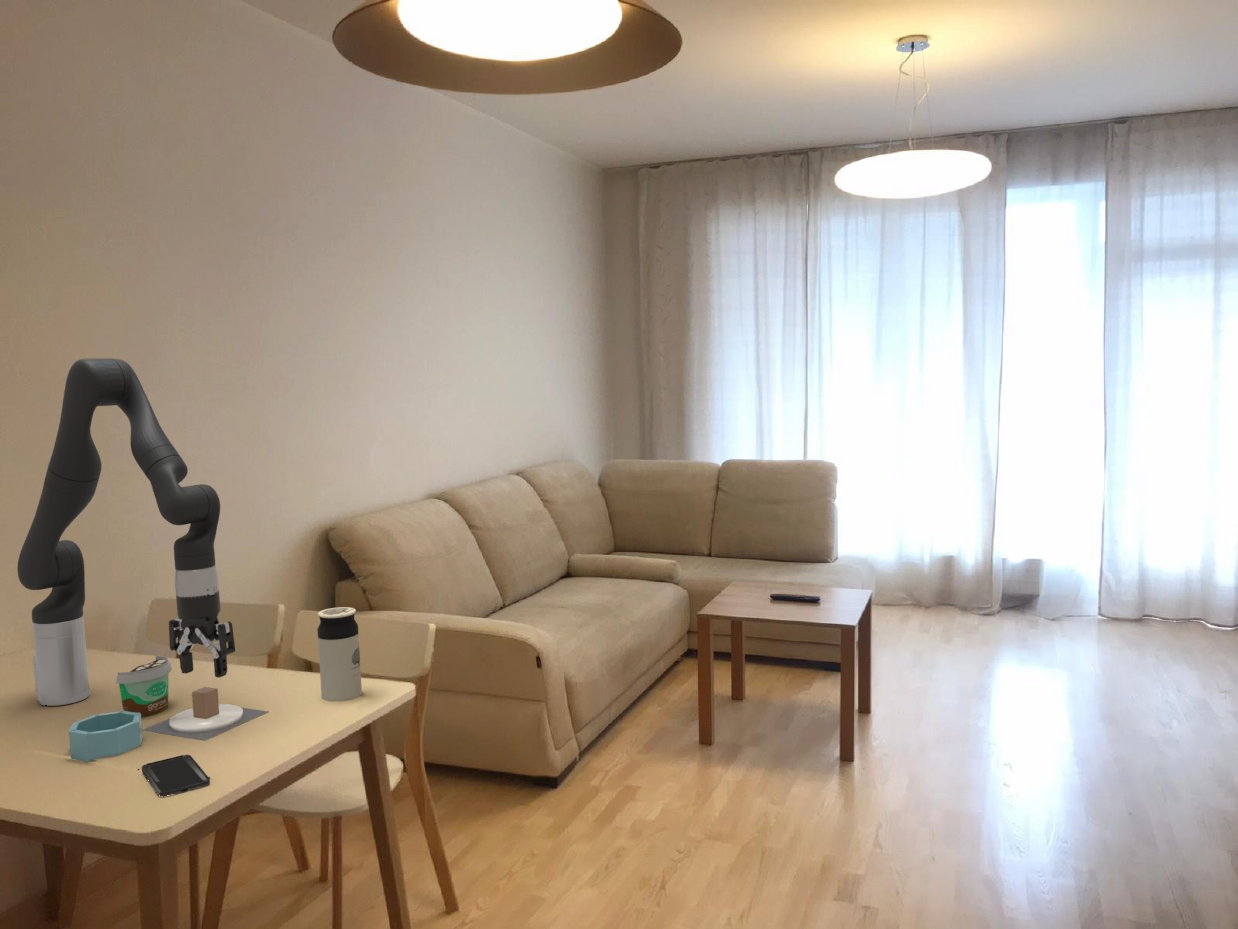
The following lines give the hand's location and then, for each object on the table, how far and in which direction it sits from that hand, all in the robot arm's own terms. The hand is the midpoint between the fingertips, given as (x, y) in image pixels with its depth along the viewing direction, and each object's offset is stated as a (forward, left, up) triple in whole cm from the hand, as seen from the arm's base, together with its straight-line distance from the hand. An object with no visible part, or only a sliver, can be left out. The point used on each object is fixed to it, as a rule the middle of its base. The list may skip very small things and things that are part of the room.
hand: (204, 674), depth 186 cm
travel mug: (+15, +21, -10) cm, 27 cm away
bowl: (-7, -16, -10) cm, 20 cm away
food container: (-15, +1, -10) cm, 18 cm away
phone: (+15, -21, -10) cm, 28 cm away
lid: (0, 0, -9) cm, 9 cm away
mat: (0, 0, -10) cm, 10 cm away
